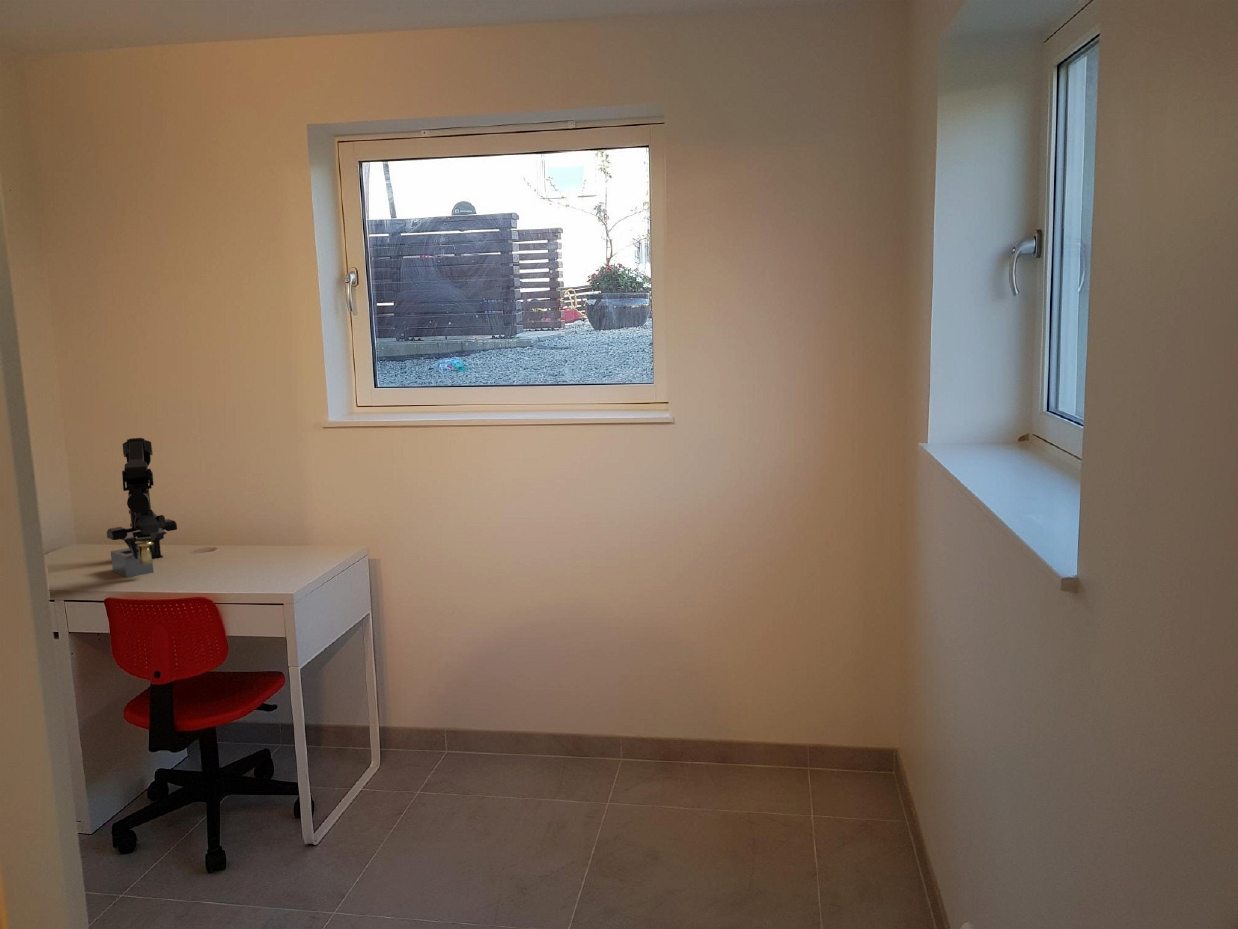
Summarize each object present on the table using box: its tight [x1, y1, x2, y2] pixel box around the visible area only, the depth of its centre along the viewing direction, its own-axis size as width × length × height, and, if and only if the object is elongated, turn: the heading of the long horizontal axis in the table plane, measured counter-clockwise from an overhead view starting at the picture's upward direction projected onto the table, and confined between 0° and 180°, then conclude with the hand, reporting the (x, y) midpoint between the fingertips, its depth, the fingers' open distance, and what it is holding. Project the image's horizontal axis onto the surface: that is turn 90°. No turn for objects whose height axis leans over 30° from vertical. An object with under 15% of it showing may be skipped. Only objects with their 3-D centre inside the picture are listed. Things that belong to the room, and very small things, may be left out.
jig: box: [110, 547, 154, 578], centre depth 311 cm, size 8×12×6 cm, turn 45°
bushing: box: [135, 540, 154, 565], centre depth 301 cm, size 6×6×7 cm
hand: (145, 557), depth 302 cm, fingers closed on bushing, 5 cm apart
